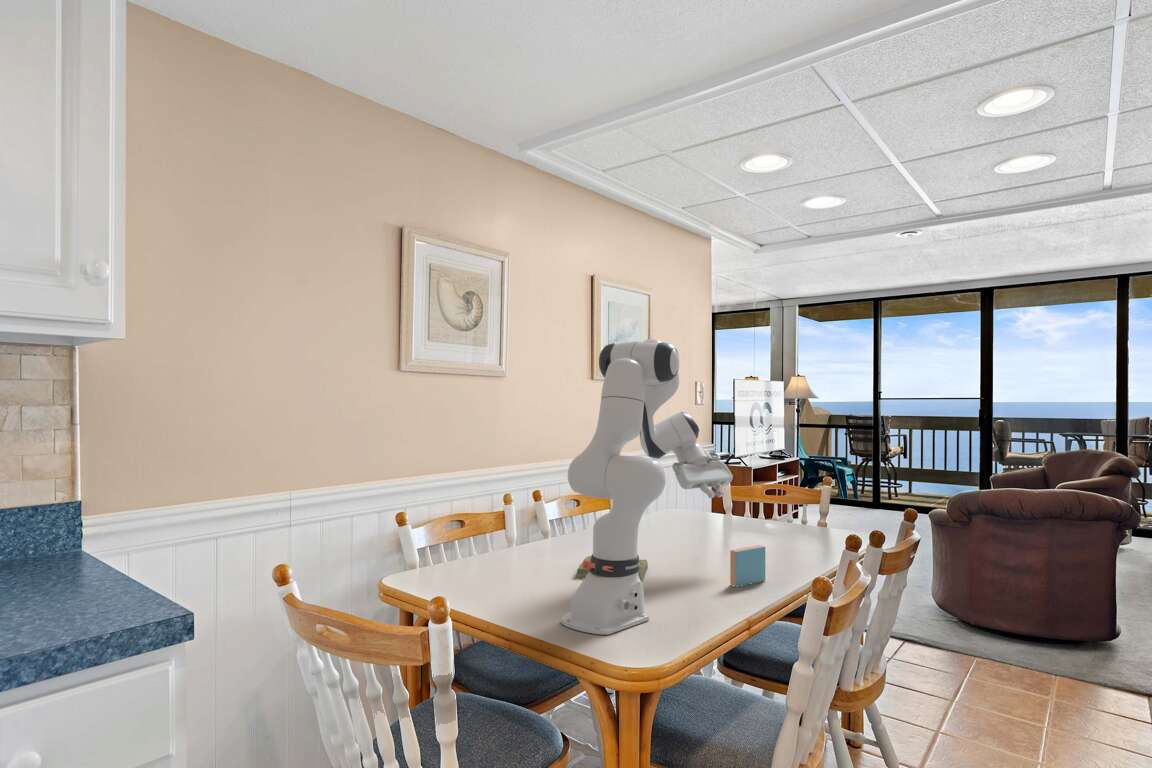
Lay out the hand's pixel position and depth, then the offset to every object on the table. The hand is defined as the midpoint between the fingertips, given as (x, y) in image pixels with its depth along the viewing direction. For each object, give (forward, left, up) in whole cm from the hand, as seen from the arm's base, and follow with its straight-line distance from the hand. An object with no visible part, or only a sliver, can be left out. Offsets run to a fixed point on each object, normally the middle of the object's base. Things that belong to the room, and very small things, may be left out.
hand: (717, 496), depth 194 cm
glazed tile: (-4, -12, -23) cm, 27 cm away
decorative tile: (-19, +25, -24) cm, 40 cm away
